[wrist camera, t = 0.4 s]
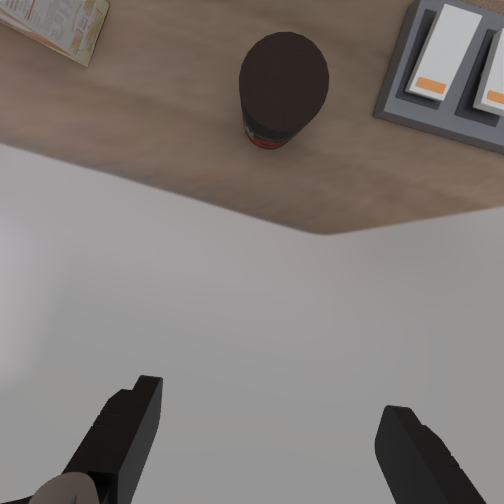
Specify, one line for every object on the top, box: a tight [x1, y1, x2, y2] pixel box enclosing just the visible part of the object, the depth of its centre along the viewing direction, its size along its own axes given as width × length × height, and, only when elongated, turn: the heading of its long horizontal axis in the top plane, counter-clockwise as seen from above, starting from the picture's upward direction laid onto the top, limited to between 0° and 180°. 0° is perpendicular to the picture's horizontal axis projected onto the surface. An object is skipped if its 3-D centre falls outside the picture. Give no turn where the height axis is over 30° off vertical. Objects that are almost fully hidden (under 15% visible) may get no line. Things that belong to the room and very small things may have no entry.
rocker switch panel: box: [373, 0, 504, 154], centre depth 32 cm, size 11×19×3 cm, turn 75°
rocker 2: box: [473, 28, 504, 116], centre depth 30 cm, size 7×4×2 cm, turn 165°
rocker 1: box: [405, 4, 482, 101], centre depth 29 cm, size 7×4×2 cm, turn 165°
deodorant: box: [239, 32, 329, 149], centre depth 28 cm, size 6×6×15 cm
